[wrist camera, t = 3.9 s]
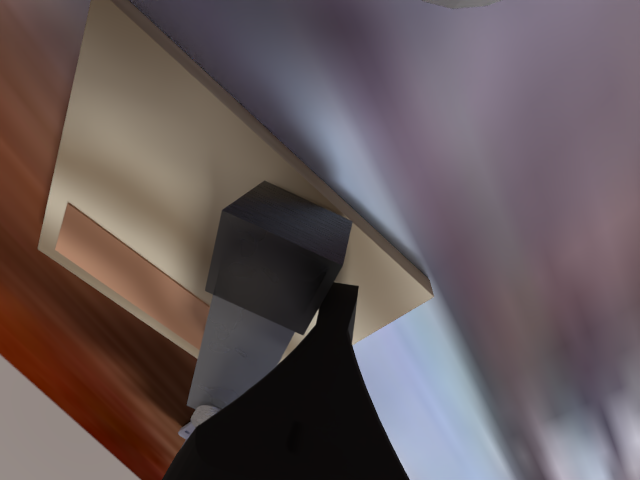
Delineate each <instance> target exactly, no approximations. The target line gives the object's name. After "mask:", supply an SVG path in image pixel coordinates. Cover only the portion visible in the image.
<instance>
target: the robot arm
mask: <svg viewBox="0 0 640 480" xmlns="http://www.w3.org/2000/svg"><path fill="white" fill-rule="evenodd" d="M358 289H359V286H356V285H349V284H342V283H336V282H333V284H332V286H331V288H330V289H329V291H328V293H327V295H326V297H325V298H324V300H323V302H322V304H321V305H320V307H319V311H318V316H317V321H316V325H315V326H314V327H313V328H312V329H311V331H310V332H309V333H308V334H307V336H306V337H305V338H304V339H303V340H302V341H301V342H300V343H299V344H298V345H297V347H296V348H295V349H294V350H293V351H292V352H291V353H290V354H289V355H288V356H287V357H286V358H285V359H283V360H282V361H281V362H280V363H279V364H278V365H277V366H276V367H275V368H274V369H273V370H272V371H270V372H269V373H268V374H267V375H266V376H265V377H263V378H262V379H261V380H260V381H258V382H257V383H256V384H255V385H253V386H252V387H251V388H250V389H248V390H247V391H246V392H245V393H243V394H242V395H241V396H240V397H238V398H237V399H236V400H234V401H233V402H231V403H230V404H229V405H227V406H226V407H224V408H223V409H221V410H220V411H218V412H217V413H216V414H214V415H213V416H211V417H210V418H208V419H207V420H205V421H204V422H203V423H201V424H200V425H198V426H197V427H196V428H195V427H194V426H193V424H192V423H191V422H189V423H188V424H186V425H185V426H183V427H182V428H181V429H180V431H179V432H178V433H179V435H180V436H181V437H183V438H185V439H186V441H185V442H184V444H183V446H182V448H181V449H180V451H179V452H178V453H177V455H176V456H175V458H174V460H173V462H172V463H171V465H170V467H169V468H168V470H167V472H166V474H165V475H164V477H163V479H162V480H409V478H408V476H407V474H406V472H405V470H404V468H403V466H402V464H401V462H400V460H399V458H398V456H397V454H396V452H395V450H394V448H393V446H392V445H391V443H390V440H389V438H388V436H387V434H386V432H385V430H384V428H383V426H382V423H381V421H380V419H379V417H378V414H377V412H376V410H375V407H374V405H373V403H372V400H371V398H370V395H369V393H368V391H367V388H366V386H365V383H364V380H363V377H362V375H361V372H360V369H359V366H358V363H357V360H356V357H355V353H354V350H353V346H352V339H353V331H354V323H355V315H356V306H357V298H358Z"/></svg>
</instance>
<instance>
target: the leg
mask: <svg viewBox="0 0 640 480" xmlns="http://www.w3.org/2000/svg"><path fill="white" fill-rule="evenodd" d="M352 223H353V221H351V220H349V219H347V218H345V217H342V216H340V215H338V214H336V213H334V212H332V211H330V210H327V209H325V208H323V207H321V206H319V205H317V204H314V203H312V202H310V201H308V200H306V199H304V198H301V197H299V196H297V195H295V194H293V193H291V192H289V191H286V190H284V189H282V188H280V187H278V186H276V185H273V184H271V183H269V182H267V181H265V180H264V181H263V182H262V183H260V184H259V185H257V186H256V187H254V188H253V189H251V190H250V191H249V192H247V193H246V194H244V195H243V196H241V197H240V198H239V199H237V200H236V201H234V202H233V203H231V204H230V205H228V206H227V207H226V208H224V209H223V210H222V212H221V217H220V222H219V226H218V231H217V236H216V240H215V245H214V250H213V254H212V259H211V264H210V269H209V273H208V278H207V283H206V287H205V291H206V292H208V293H211V294H213V297H212V301H211V305H210V309H209V314H208V318H207V322H206V326H205V330H204V334H203V339H202V343H201V347H200V351H199V355H198V360H197V364H196V368H195V372H194V376H193V380H192V385H191V389H190V393H189V397H188V401H187V406H189V407H191V408H194V409H196V410H195V412H194V413H193V415H192V417H191V423H192V424H193V426H194V427H195V428H196V427H197V426H198V425H200V424H201V423H203V422H204V421H205V420H207V419H208V418H210V417H211V416H213V415H214V414H216V413H217V412H218V411H220V410H221V409H223V408H224V407H226V406H227V405H229V404H230V403H231V402H233V401H234V400H236V399H237V398H238V397H240V396H241V395H242V394H243V393H245V392H246V391H247V390H248V389H250V388H251V387H252V386H253V385H255V384H256V383H257V382H258V381H260V380H261V379H262V378H263V377H265V376H266V375H267V374H268V373H269V372H270V371H272V370H273V369H274V368H275V367H276V366H277V365H278V363H279V361H280V360H281V358H282V356H283V354H284V352H285V350H286V348H287V346H288V344H289V343H290V341H291V339H292V337H293V335H294V333H295V332H296V333H298V334H301V335H304V334H305V332H306V330H307V328H308V327H309V325H310V323H311V321H312V319H313V318H314V316H315V314H316V312H317V311H318V309H319V307H320V305H321V304H322V302H323V300H324V298H325V297H326V295H327V293H328V291H329V289H330V288H331V286H332V284H333V282H334V281H335V279H336V277H337V275H338V274H339V272H340V270H341V268H342V266H343V263H344V259H345V254H346V250H347V245H348V241H349V236H350V232H351V228H352Z"/></svg>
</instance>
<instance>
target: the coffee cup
mask: <svg viewBox="0 0 640 480" xmlns="http://www.w3.org/2000/svg"><path fill="white" fill-rule="evenodd" d="M422 1H424V2H428V3H432V4H436V5H440V6H444V7H448V8H451V9H458V8H469V7H481V6H488V5H490V4H493V3H496V2H498V1H501V0H422Z"/></svg>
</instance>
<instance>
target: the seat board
mask: <svg viewBox="0 0 640 480" xmlns="http://www.w3.org/2000/svg"><path fill="white" fill-rule="evenodd" d="M264 180H265V181H267V182H269V183H271V184H273V185H276V186H278V187H280V188H282V189H284V190H286V191H289V192H291V193H293V194H295V195H297V196H299V197H301V198H304V199H306V200H308V201H310V202H312V203H314V204H317V205H319V206H321V207H323V208H325V209H327V210H330V211H332V212H334V213H336V214H338V215H340V216H342V217H345V218H347V219H349V220H351V221H353V223H352V228H351V232H350V236H349V241H348V245H347V250H346V254H345V259H344V263H343V266H342V268H341V270H340V272H339V274H338V275H337V277H336V279H335V281H334V282H336V283H342V284H349V285H356V286H359V289H358V298H357V306H356V315H355V323H354V331H353V339H352V345H354V344H355V343H357V342H359V341H360V340H362V339H364V338H365V337H367V336H369V335H370V334H372V333H374V332H375V331H377V330H379V329H381V328H382V327H384V326H386V325H387V324H389V323H391V322H392V321H394V320H396V319H397V318H399V317H401V316H403V315H404V314H406V313H408V312H409V311H411V310H413V309H414V308H416V307H418V306H419V305H421V304H423V303H425V302H426V301H428V300H430V299H431V298H433V297H434V295H433V291H432V287H431V284H430V280H429V279H428V278H427V277H426V276H425V275H424V274H423V273H422V272H420V271H419V270H418V269H417V268H416V267H415V266H414V265H413V264H412V263H411V262H410V261H409V260H408V259H406V258H405V257H404V256H403V255H402V254H401V253H400V252H399V251H398V250H397V249H396V248H395V247H394V246H392V245H391V244H390V243H389V242H388V241H387V240H386V239H385V238H384V237H383V236H382V235H381V234H380V233H378V232H377V231H376V230H375V229H374V228H373V227H372V226H371V225H370V224H369V223H368V222H367V221H366V220H364V219H363V218H362V217H361V216H360V215H359V214H358V213H357V212H356V211H355V210H354V209H353V208H352V207H350V206H349V205H348V204H347V203H346V202H345V201H344V200H343V199H342V198H341V197H340V196H339V195H338V194H336V193H335V192H334V191H333V190H332V189H331V188H330V187H329V186H328V185H327V184H326V183H325V182H324V181H322V180H321V179H320V178H319V177H318V176H317V175H316V174H315V173H314V172H313V171H312V170H311V169H310V168H308V167H307V166H306V165H305V164H304V163H303V162H302V161H301V160H300V159H299V158H298V157H297V156H296V155H294V154H293V153H292V152H291V151H290V150H289V149H288V148H287V147H286V146H285V145H284V144H283V143H282V142H280V141H279V140H278V139H277V138H276V137H275V136H274V135H273V134H272V133H271V132H270V131H269V130H268V129H266V128H265V127H264V126H263V125H262V124H261V123H260V122H259V121H258V120H257V119H256V118H255V117H254V116H252V115H251V114H250V113H249V112H248V111H247V110H246V109H245V108H244V107H243V106H242V105H241V104H240V103H238V102H237V101H236V100H235V99H234V98H233V97H232V96H231V95H230V94H229V93H228V92H227V91H226V90H224V89H223V88H222V87H221V86H220V85H219V84H218V83H217V82H216V81H215V80H214V79H213V78H212V77H210V76H209V75H208V74H207V73H206V72H205V71H204V70H203V69H202V68H201V67H200V66H199V65H198V64H196V63H195V62H194V61H193V60H192V59H191V58H190V57H189V56H188V55H187V54H186V53H185V52H184V51H182V50H181V49H180V48H179V47H178V46H177V45H176V44H175V43H174V42H173V41H172V40H171V39H170V38H168V37H167V36H166V35H165V34H164V33H163V32H162V31H161V30H160V29H159V28H158V27H157V26H156V25H154V24H153V23H152V22H151V21H150V20H149V19H148V18H147V17H146V16H145V15H144V14H143V13H142V12H140V11H139V10H138V9H137V8H136V7H135V6H134V5H133V4H132V3H131V2H130V1H129V0H91V2H90V7H89V12H88V16H87V21H86V26H85V30H84V35H83V40H82V44H81V49H80V54H79V58H78V63H77V68H76V72H75V77H74V82H73V86H72V91H71V96H70V100H69V105H68V109H67V114H66V119H65V123H64V128H63V133H62V137H61V142H60V147H59V151H58V156H57V161H56V165H55V170H54V175H53V179H52V184H51V189H50V193H49V198H48V203H47V207H46V212H45V217H44V221H43V226H42V231H41V235H40V240H39V245H38V250H40V251H41V252H43V253H44V254H46V255H47V256H48V257H50V258H51V259H53V260H54V261H56V262H57V263H59V264H60V265H62V266H63V267H65V268H66V269H67V270H69V271H70V272H72V273H73V274H75V275H76V276H78V277H79V278H81V279H82V280H83V281H85V282H86V283H88V284H89V285H91V286H92V287H94V288H95V289H97V290H98V291H99V292H101V293H102V294H104V295H105V296H107V297H108V298H110V299H111V300H113V301H114V302H115V303H117V304H118V305H120V306H121V307H123V308H124V309H126V310H127V311H129V312H130V313H132V314H133V315H134V316H136V317H137V318H139V319H140V320H142V321H143V322H145V323H146V324H148V325H149V326H150V327H152V328H153V329H155V330H156V331H158V332H159V333H161V334H162V335H164V336H165V337H166V338H168V339H169V340H171V341H172V342H174V343H175V344H177V345H178V346H180V347H181V348H182V349H184V350H185V351H187V352H188V353H190V354H191V355H193V356H194V357H196V358H197V359H198V355H199V351H200V347H201V343H202V339H203V334H204V330H205V326H206V322H207V318H208V314H209V309H210V305H211V301H212V297H213V294H211V293H208V292H206V291H205V287H206V283H207V278H208V273H209V269H210V264H211V259H212V254H213V250H214V245H215V240H216V236H217V231H218V226H219V222H220V217H221V212H222V210H223V209H224V208H226V207H227V206H228V205H230V204H231V203H233V202H234V201H236V200H237V199H239V198H240V197H241V196H243V195H244V194H246V193H247V192H249V191H250V190H251V189H253V188H254V187H256V186H257V185H259V184H260V183H262V182H263V181H264ZM318 311H319V309H318ZM318 311H317V312H316V314H315V316H314V318H313V319H312V321H311V323H310V325H309V327H308V328H307V330H306V332H305V334H304V335H301V334H298V333H296V332H295V333H294V335H293V337H292V339H291V341H290V343H289V344H288V346H287V348H286V350H285V352H284V354H283V356H282V358H281V360H280V361H279V363H280V362H281V361H282V360H283V359H285V358H286V357H287V356H288V355H289V354H290V353H291V352H292V351H293V350H294V349H295V348H296V347H297V345H298V344H299V343H300V342H301V341H302V340H303V339H304V338H305V337H306V336H307V334H308V333H309V332H310V331H311V329H312V328H313V327H314V326H315V325H316V321H317V316H318ZM279 363H278V364H279Z"/></svg>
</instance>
